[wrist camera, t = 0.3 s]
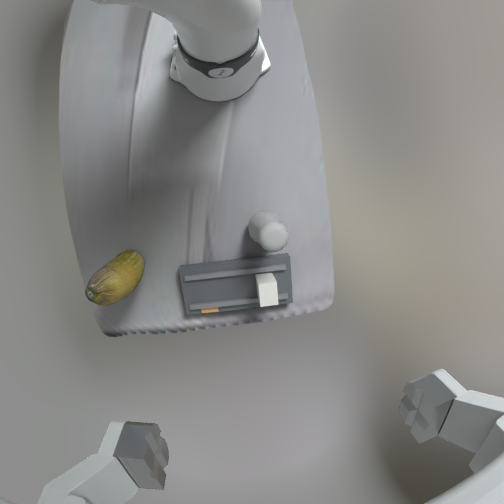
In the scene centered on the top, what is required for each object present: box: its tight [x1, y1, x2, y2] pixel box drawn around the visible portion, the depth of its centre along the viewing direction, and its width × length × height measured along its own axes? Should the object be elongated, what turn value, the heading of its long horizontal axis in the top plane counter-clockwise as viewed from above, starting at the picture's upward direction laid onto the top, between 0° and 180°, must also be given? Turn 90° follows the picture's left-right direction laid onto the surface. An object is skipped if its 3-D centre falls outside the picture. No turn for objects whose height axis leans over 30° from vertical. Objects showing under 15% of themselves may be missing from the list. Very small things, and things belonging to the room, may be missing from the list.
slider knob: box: [255, 273, 279, 307], centre depth 49 cm, size 4×3×5 cm
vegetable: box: [85, 250, 144, 306], centre depth 42 cm, size 6×6×20 cm
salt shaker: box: [248, 212, 289, 252], centre depth 46 cm, size 6×6×13 cm
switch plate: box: [179, 253, 293, 315], centre depth 52 cm, size 9×20×3 cm, turn 96°
